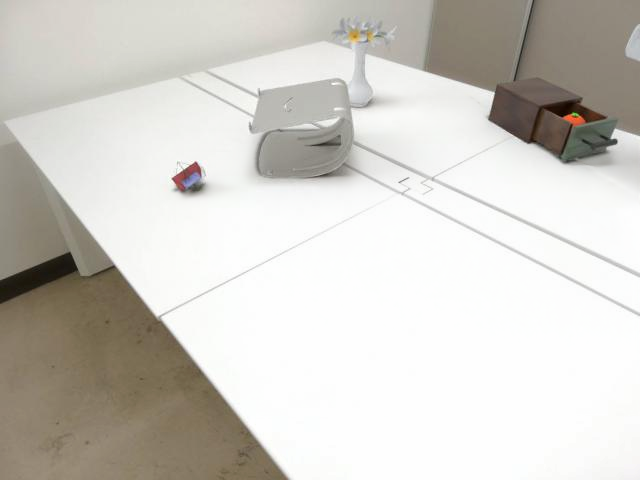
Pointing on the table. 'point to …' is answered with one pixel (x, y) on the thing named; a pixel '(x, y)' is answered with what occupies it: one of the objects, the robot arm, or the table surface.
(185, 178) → the geometric puzzle
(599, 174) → the table surface
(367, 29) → the flower vase
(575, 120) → the clementine
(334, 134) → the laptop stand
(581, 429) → the table surface
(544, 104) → the cabinet
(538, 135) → the drawer
